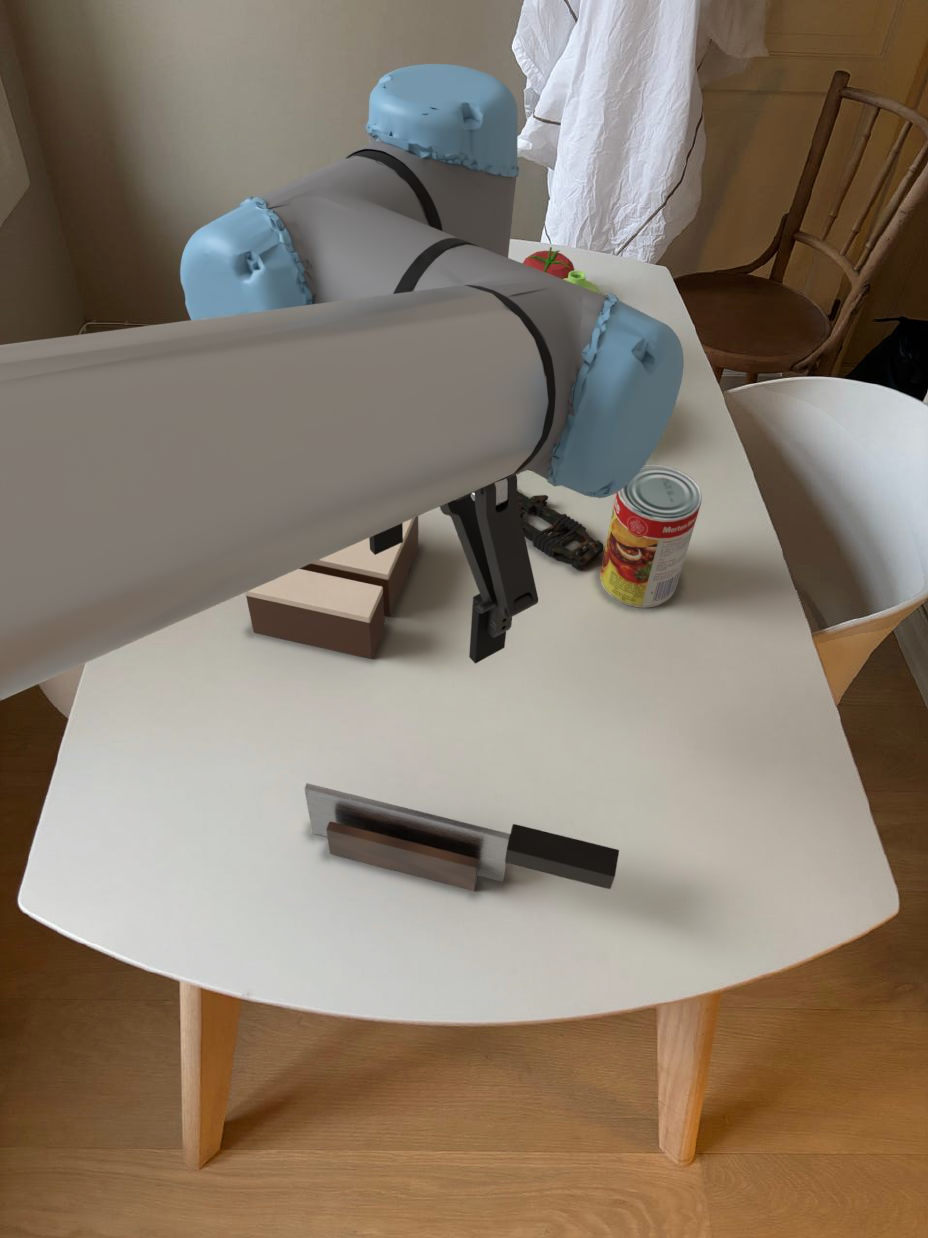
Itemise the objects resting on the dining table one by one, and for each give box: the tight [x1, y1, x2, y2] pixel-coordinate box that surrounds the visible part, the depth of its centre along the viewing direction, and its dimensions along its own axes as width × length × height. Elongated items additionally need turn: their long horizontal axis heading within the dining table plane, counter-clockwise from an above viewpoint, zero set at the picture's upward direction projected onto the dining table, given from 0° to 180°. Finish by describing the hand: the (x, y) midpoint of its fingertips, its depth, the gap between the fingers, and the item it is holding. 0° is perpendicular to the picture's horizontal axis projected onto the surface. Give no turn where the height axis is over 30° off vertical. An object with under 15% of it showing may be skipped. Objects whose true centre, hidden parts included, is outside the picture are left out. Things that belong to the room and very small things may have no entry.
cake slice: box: [245, 569, 386, 660], centre depth 89 cm, size 4×12×6 cm, turn 76°
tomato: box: [521, 246, 575, 279], centre depth 130 cm, size 8×8×8 cm
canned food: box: [599, 464, 703, 609], centre depth 92 cm, size 8×8×12 cm
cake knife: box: [303, 782, 620, 890], centre depth 72 cm, size 24×2×7 cm, turn 75°
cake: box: [299, 516, 419, 617], centre depth 94 cm, size 10×12×6 cm
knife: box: [517, 490, 605, 571], centre depth 103 cm, size 25×6×1 cm, turn 41°
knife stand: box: [326, 821, 479, 892], centre depth 74 cm, size 12×3×4 cm, turn 75°
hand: (434, 597), depth 73 cm, fingers open, 13 cm apart
